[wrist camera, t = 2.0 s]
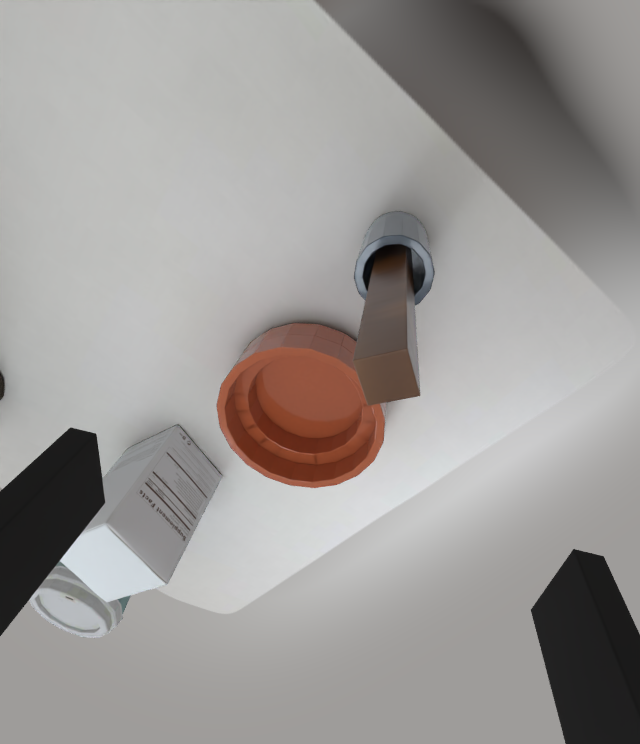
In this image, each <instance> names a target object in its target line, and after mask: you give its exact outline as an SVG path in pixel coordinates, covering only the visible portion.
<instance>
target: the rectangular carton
mask: <svg viewBox="0 0 640 744" xmlns="http://www.w3.org/2000/svg"><path fill="white" fill-rule="evenodd" d="M221 478H222V475H221V474H220V473H219V472H218V471H217V469H216V468H215V467H214V466H213V465H212V464H211V463H210V461H209V460H208V459H207V458H206V457H205V455H204V454H203V453H202V452H201V451H200V450H199V448H198V447H197V446H196V445H195V444H194V443H193V441H192V440H191V439H190V438H189V437H188V436H187V434H186V433H185V432H184V431H183V430H182V429H181V427H180V426H179V425H176V426H174V427H172V428H170V429H167V430H165V431H163V432H161V433H159V434H157V435H155V436H153V437H151V438H149V439H147V440H144V441H142V442H140V443H138V444H136V445H134V446H132V447H130V448H128V449H127V450H126V451H125V452H124V454H123V455H122V456H121V457H120V458H119V460H118V461H117V462H116V463H115V464H114V466H113V467H112V468H111V469H110V470H109V472H108V473H107V474H106V475H105V476H104V478H103V479H102V481H103V489H104V496H105V504H104V505H103V506H102V508H101V509H100V510H99V512H98V513H97V514H96V515H95V517H94V518H93V519H92V520H91V522H90V523H89V524H88V525H87V527H86V528H85V529H84V531H83V532H82V533H81V534H80V536H79V537H78V538H77V539H76V541H75V542H74V543H73V545H72V546H71V547H70V548H69V550H68V551H67V552H66V553H65V555H64V556H63V557H62V558H61V560H60V562H61V563H63V564H64V565H65V566H66V567H67V568H68V569H70V570H71V571H72V572H73V573H74V574H75V575H76V576H77V577H79V578H80V579H81V580H82V581H83V582H84V583H85V584H86V585H87V586H88V587H89V588H90V589H91V590H92V591H93V592H94V593H96V594H97V595H98V596H99V597H100V598H102V599H103V600H104V601H106V602H110V601H113V600H116V599H120V598H123V597H126V596H130V595H133V594H136V593H140V592H143V591H147V590H150V589H153V588H157V587H160V586H164V585H167V584H168V582H169V580H170V578H171V576H172V574H173V572H174V570H175V568H176V566H177V564H178V562H179V560H180V558H181V557H182V555H183V553H184V551H185V549H186V547H187V545H188V543H189V541H190V539H191V537H192V535H193V533H194V531H195V529H196V527H197V525H198V523H199V521H200V519H201V517H202V515H203V513H204V511H205V509H206V507H207V506H208V504H209V502H210V500H211V498H212V496H213V494H214V492H215V490H216V488H217V486H218V484H219V482H220V480H221Z"/></svg>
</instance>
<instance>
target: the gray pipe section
mask: <svg viewBox="0 0 640 744" xmlns="http://www.w3.org/2000/svg"><path fill="white" fill-rule="evenodd" d="M396 244H401V245H403V246H406V247H408V248H410V249H411V253H412V267H413V283H414V300H415V305H417V304H419V303H420V302H421V301H422V300H423V298H424V297H425V296H426V295H427V294H428V292H429V291H430V289H431V286H432V282H433V278H434V272H435V271H434V267H433V262H432V257H431V252H430V247H429V243H428V238H427V234H426V230H425V228H424V226H423V225H422V223H421V222H420V221H419V220H418V219H417V218H416V217H414V216H413V215H411V214H409V213H406V212H401V211H395V212H389V213H386V214H384V215H382V216H380V217H379V218H377V219H376V220H375V221H374V222H373V223H372V224H371V226H370V227H369V229H368V231H367V233H366V235H365V237H364V240H363V243H362V246H361V249H360V252H359V255H358V258H357V261H356V267H355V273H354V279H355V283H356V286H357V289H358V292H359V294H360V295H361V296H362V297H363V299H364V300H365V301H366V297H367V292H368V287H369V283H370V278H371V273H372V269H373V264H374V259H375V255H376V250H378V249H380V248H382V247H383V246H385V245H396Z"/></svg>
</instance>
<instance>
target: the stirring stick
mask: <svg viewBox="0 0 640 744" xmlns="http://www.w3.org/2000/svg"><path fill="white" fill-rule="evenodd" d="M353 364H354V367H355V370H356V373H357V376H358V379H359V382H360V385H361V388H362V391H363V394H364V397H365V400H366V402H367V405H368V406H369V405H375V404H380V403H385V402H390V401H396V400H401V399H406V398H411V397H417V396H420V382H419V365H418V349H417V333H416V316H415V300H414V283H413V267H412V253H411V249H410V248H408V247H406V246H403V245H401V244H396V245H385V246H383V247H382V248H380V249H378V250H376V255H375V259H374V264H373V269H372V273H371V278H370V283H369V287H368V292H367V297H366V301H365V306H364V310H363V315H362V320H361V324H360V329H359V334H358V338H357V343H356V348H355V352H354V357H353Z"/></svg>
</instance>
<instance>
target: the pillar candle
mask: <svg viewBox="0 0 640 744" xmlns="http://www.w3.org/2000/svg"><path fill="white" fill-rule="evenodd" d="M3 392H4V384H3V380H2V377H1V374H0V400H1V399H2V397H3Z"/></svg>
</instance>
